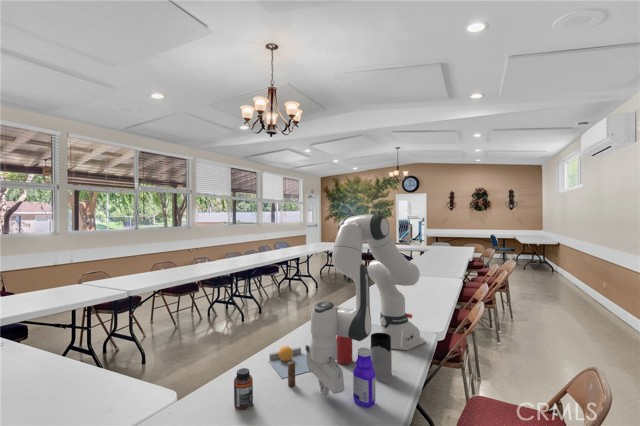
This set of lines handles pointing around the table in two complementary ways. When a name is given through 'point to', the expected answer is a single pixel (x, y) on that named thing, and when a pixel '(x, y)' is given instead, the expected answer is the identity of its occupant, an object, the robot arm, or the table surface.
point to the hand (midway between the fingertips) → (324, 393)
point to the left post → (291, 374)
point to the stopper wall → (276, 355)
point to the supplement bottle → (243, 389)
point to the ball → (285, 353)
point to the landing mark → (282, 366)
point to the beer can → (344, 350)
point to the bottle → (364, 379)
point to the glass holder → (381, 356)
